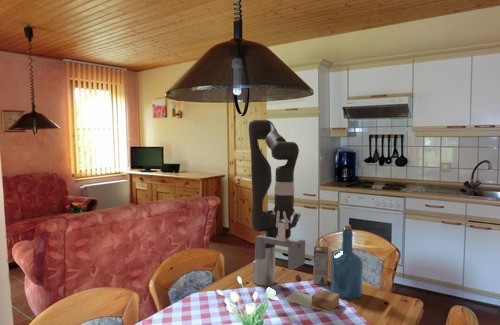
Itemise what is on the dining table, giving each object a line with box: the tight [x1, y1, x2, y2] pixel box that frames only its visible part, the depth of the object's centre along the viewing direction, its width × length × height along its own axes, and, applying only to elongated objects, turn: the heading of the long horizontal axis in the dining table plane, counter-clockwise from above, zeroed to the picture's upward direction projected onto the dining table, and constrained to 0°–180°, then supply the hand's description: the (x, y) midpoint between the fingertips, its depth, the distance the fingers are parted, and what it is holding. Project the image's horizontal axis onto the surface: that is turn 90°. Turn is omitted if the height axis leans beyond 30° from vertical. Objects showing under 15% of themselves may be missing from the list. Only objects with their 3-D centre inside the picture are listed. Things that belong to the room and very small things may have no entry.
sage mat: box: [283, 290, 340, 314], centre depth 143 cm, size 20×10×1 cm, turn 56°
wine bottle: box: [330, 224, 364, 300], centre depth 152 cm, size 14×13×30 cm
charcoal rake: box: [254, 220, 306, 271], centre depth 140 cm, size 19×10×16 cm, turn 55°
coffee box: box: [312, 245, 329, 286], centre depth 165 cm, size 9×6×16 cm
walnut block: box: [311, 289, 340, 312], centre depth 139 cm, size 8×8×4 cm
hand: (283, 237), depth 139 cm, fingers closed on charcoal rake, 3 cm apart
